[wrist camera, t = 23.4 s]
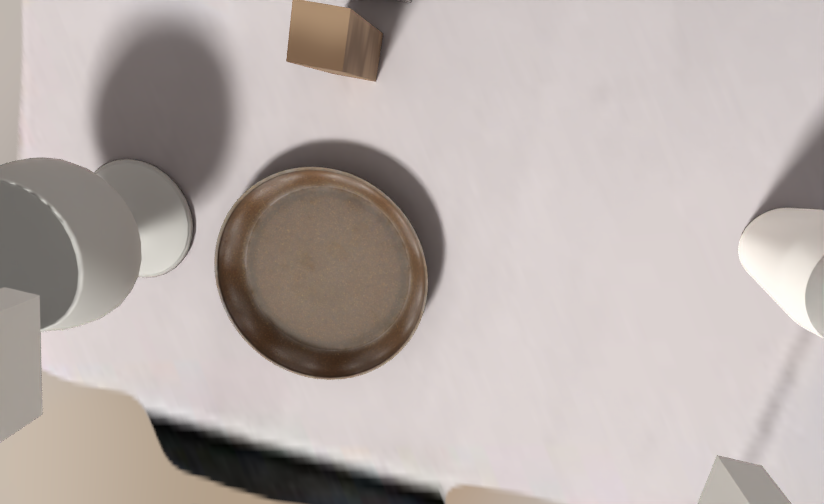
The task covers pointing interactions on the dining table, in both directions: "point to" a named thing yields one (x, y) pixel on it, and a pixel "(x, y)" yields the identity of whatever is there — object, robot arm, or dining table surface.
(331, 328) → the plant saucer
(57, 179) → the chalice
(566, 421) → the dining table surface
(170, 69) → the dining table surface
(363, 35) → the brown wooden block
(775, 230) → the cup
